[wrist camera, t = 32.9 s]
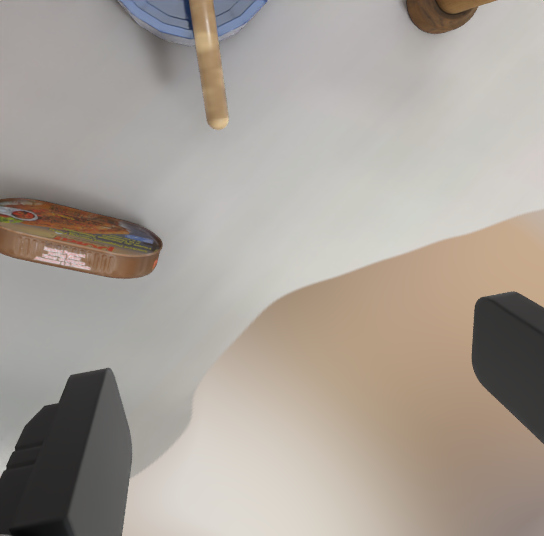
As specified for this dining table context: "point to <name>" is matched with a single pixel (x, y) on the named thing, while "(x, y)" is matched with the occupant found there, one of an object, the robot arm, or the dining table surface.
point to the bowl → (189, 17)
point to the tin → (76, 239)
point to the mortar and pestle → (442, 13)
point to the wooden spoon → (209, 62)
